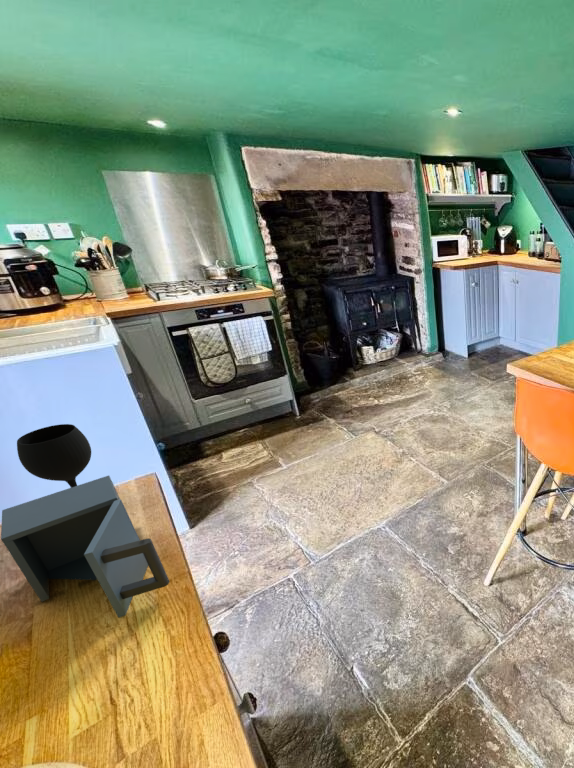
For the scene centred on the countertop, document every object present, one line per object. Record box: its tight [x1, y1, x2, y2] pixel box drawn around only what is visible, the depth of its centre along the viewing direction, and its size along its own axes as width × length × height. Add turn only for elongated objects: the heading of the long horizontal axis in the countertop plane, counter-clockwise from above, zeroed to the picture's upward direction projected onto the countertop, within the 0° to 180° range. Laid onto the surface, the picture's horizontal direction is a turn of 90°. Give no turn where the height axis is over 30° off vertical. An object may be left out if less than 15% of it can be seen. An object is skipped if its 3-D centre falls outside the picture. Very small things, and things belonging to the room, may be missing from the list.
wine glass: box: [16, 423, 92, 488], centre depth 91 cm, size 10×10×20 cm
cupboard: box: [0, 475, 121, 603], centre depth 76 cm, size 10×14×16 cm
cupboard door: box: [84, 499, 171, 618], centre depth 73 cm, size 7×14×16 cm, turn 28°
